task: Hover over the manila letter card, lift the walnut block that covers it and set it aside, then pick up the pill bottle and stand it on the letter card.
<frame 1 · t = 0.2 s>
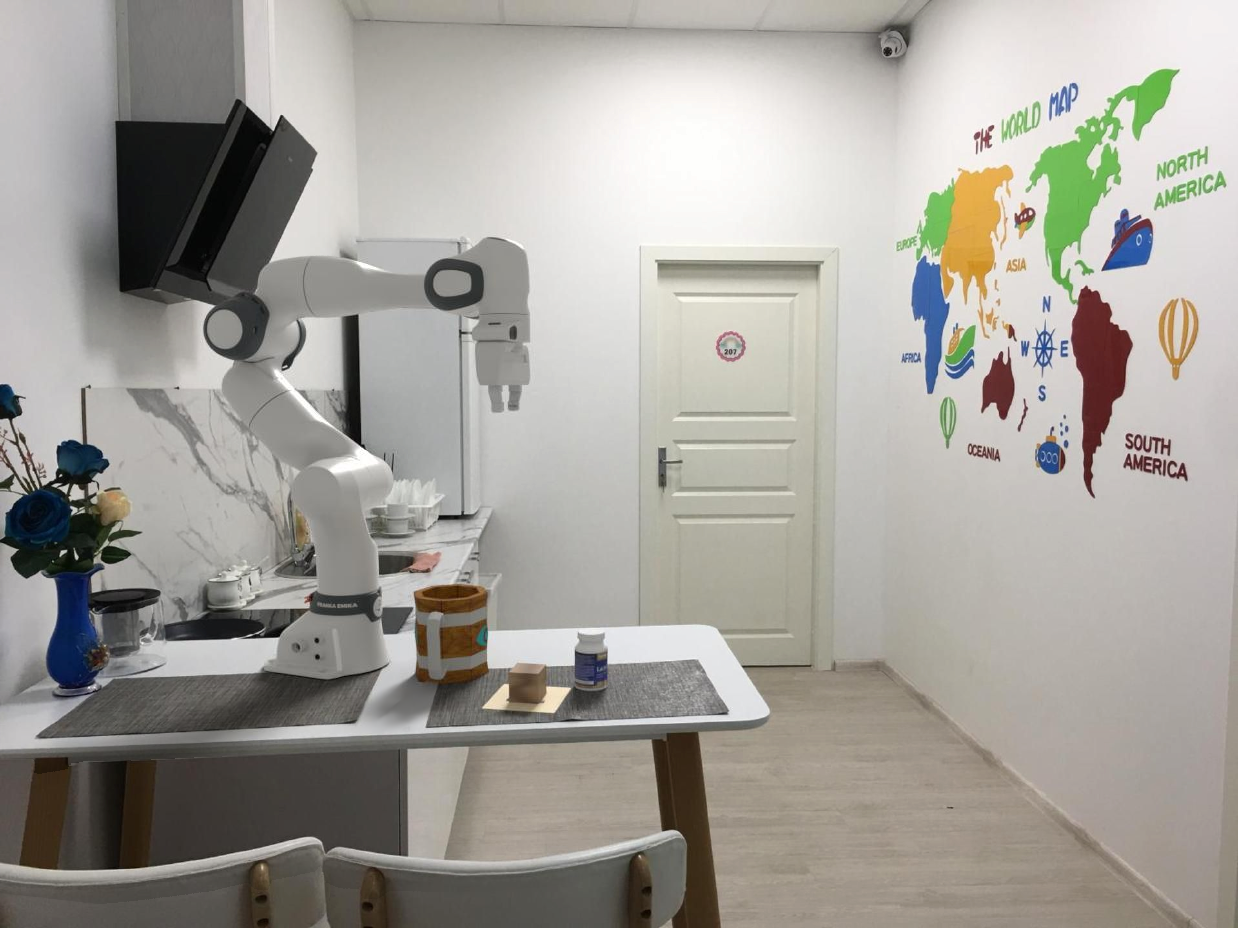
hand: (505, 411, 159), 47 cm above the table, fingers open, 8 cm apart
pill bottle: (591, 688, 156), on the table
letter card: (528, 699, 150), on the table
walnut block: (528, 697, 150), resting on letter card
mug: (447, 680, 161), on the table
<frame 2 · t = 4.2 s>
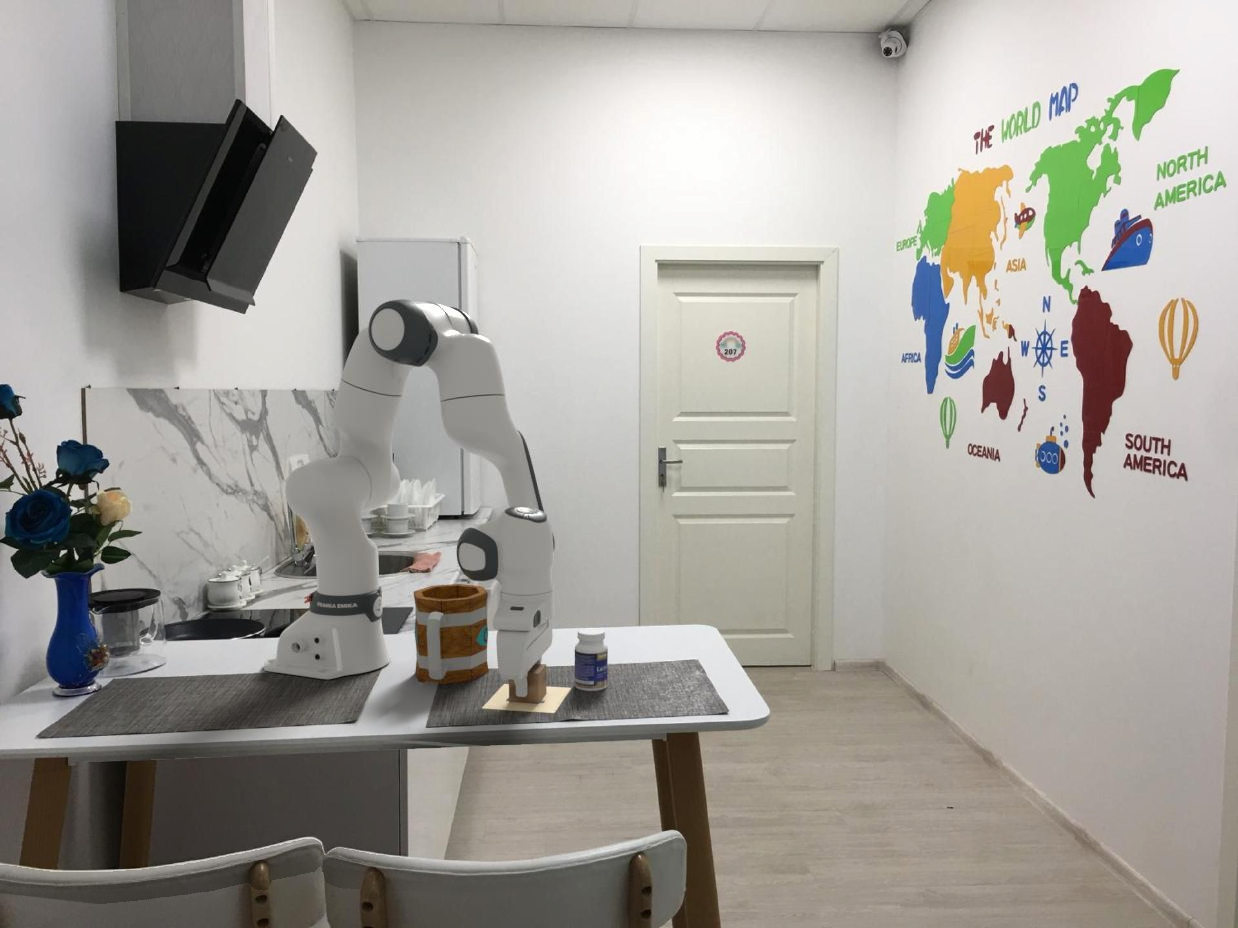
hand: (527, 688, 150), 2 cm above the table, fingers closed on walnut block, 5 cm apart
walnut block: (528, 697, 150), resting on letter card, touching gripper
everything else where it was.
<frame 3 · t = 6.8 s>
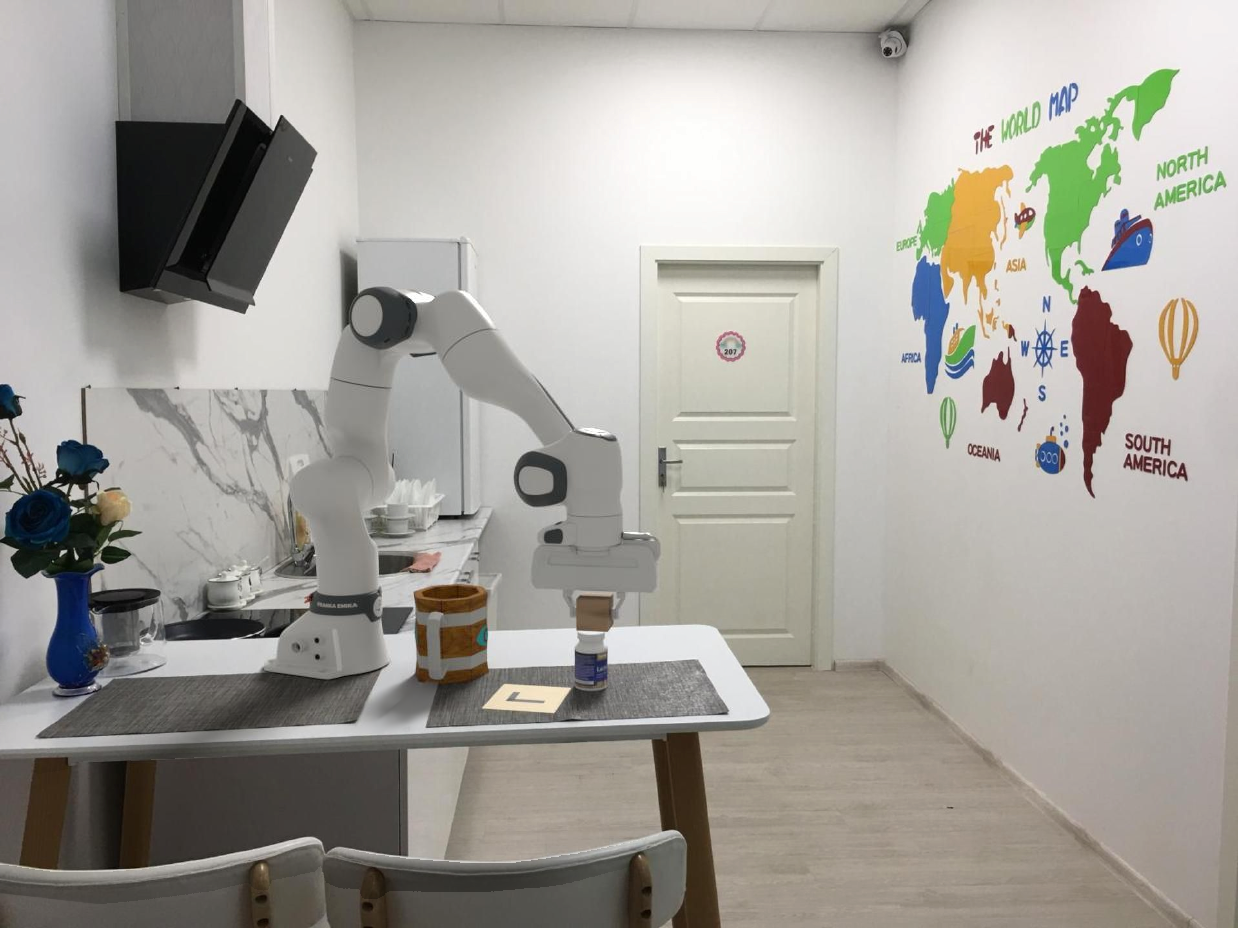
hand: (595, 617, 143), 15 cm above the table, fingers closed on walnut block, 5 cm apart
walnut block: (595, 626, 143), point 14 cm above the table, touching gripper
everything else where it was.
when the fingers open (3 cm above the table, at t = 9.2 s): walnut block drops 2 cm, on the table.
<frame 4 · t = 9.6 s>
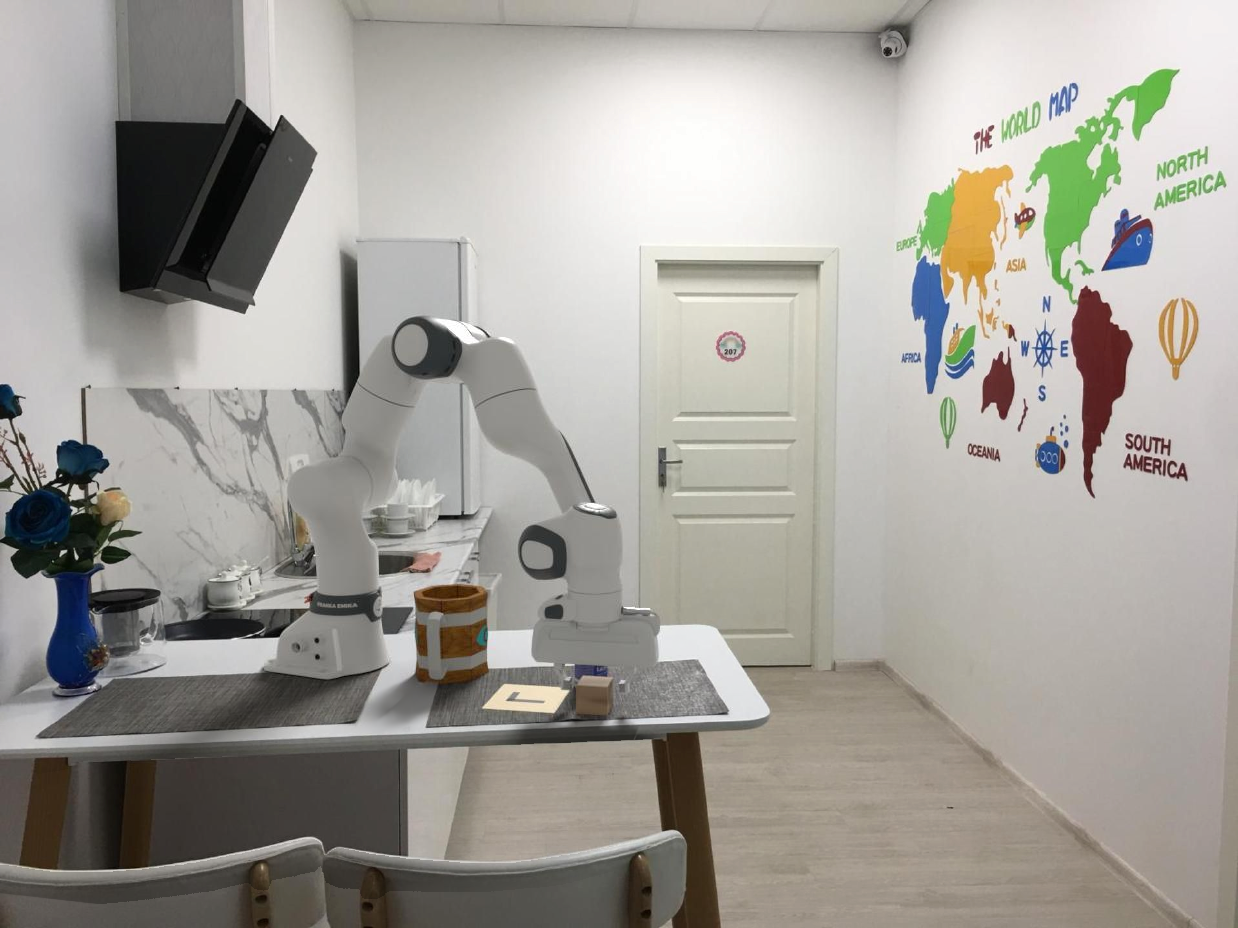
hand: (595, 690, 144), 3 cm above the table, fingers open, 8 cm apart
walnut block: (594, 711, 145), on the table
everything else where it was.
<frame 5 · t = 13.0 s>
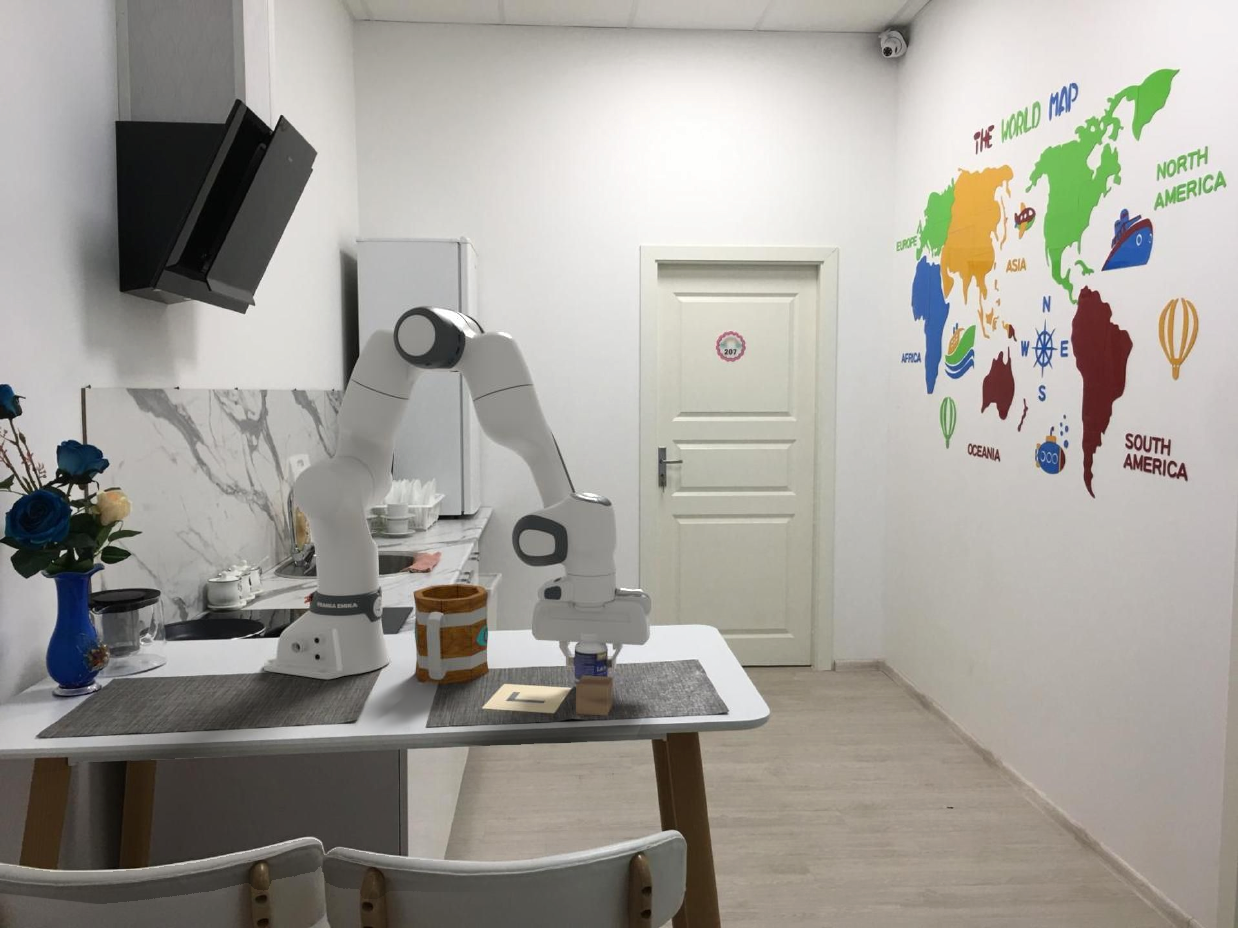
hand: (591, 666, 156), 4 cm above the table, fingers closed on pill bottle, 6 cm apart
pill bottle: (591, 688, 156), on the table, touching gripper
everything else where it was.
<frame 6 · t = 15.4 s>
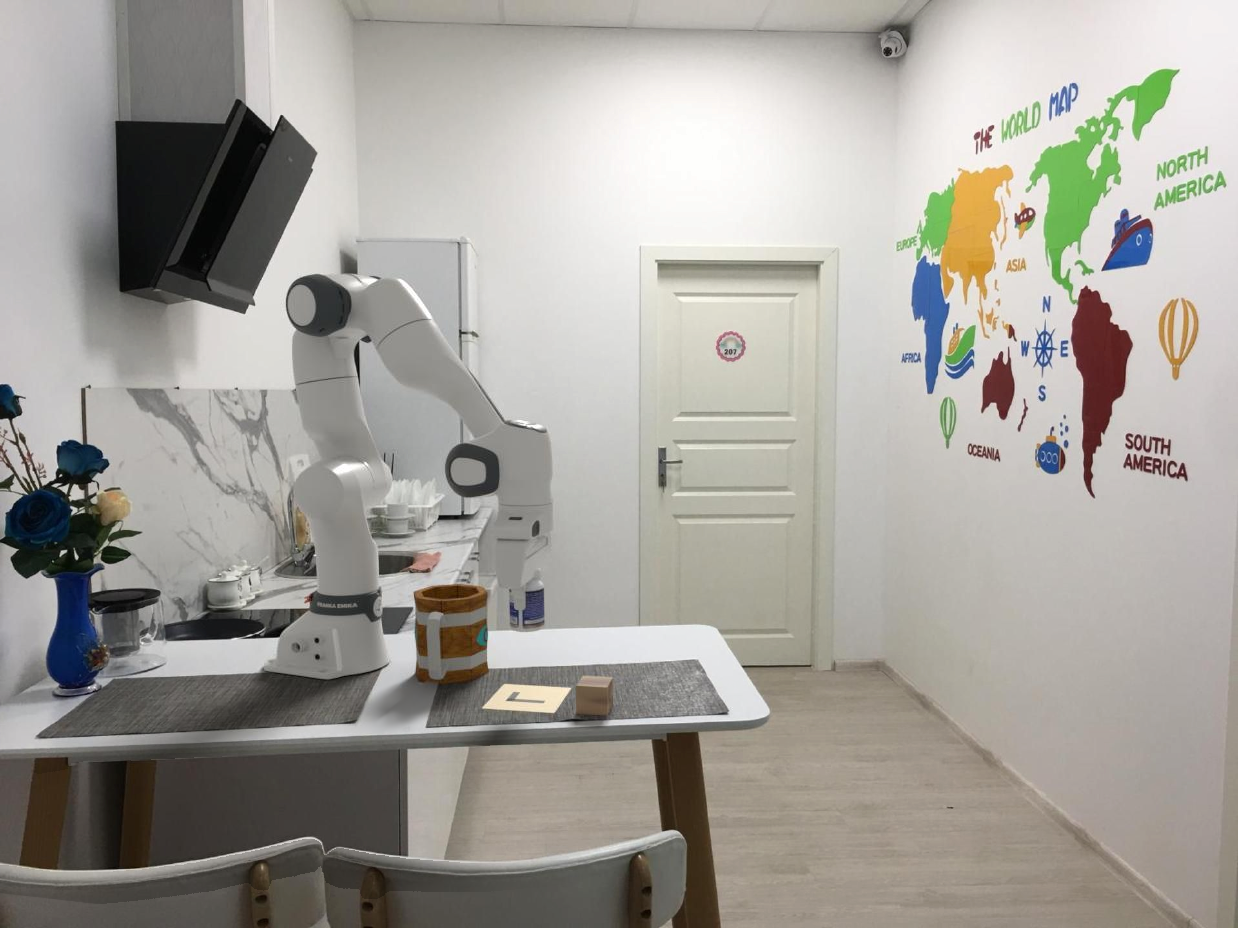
hand: (526, 603, 148), 16 cm above the table, fingers closed on pill bottle, 6 cm apart
pill bottle: (527, 629, 149), point 12 cm above the table, touching gripper
everything else where it was.
when the fingers open (5 cm above the table, at t = 17.8 s): pill bottle stays where it is, resting on letter card.
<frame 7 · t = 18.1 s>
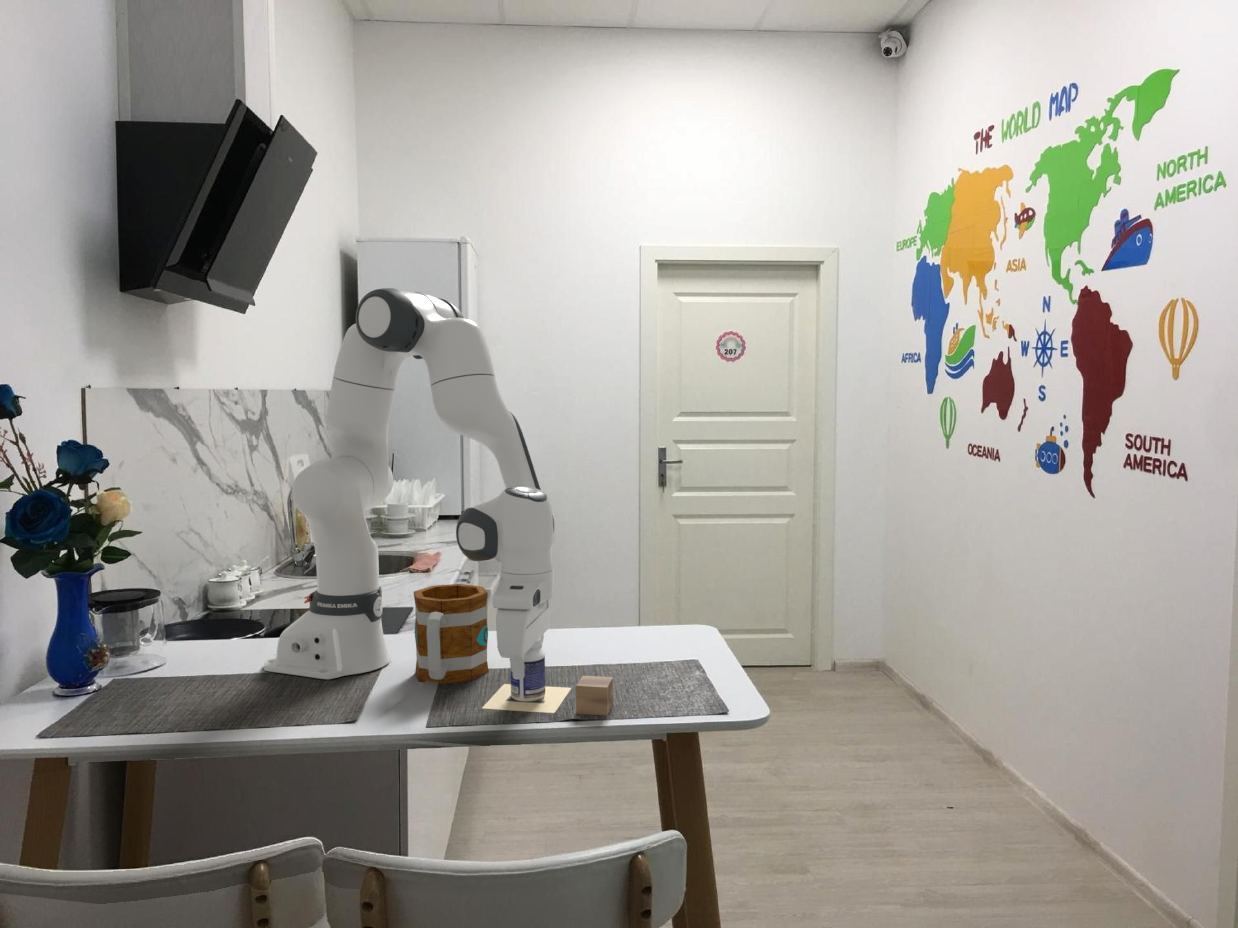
hand: (527, 668, 149), 5 cm above the table, fingers open, 8 cm apart
pill bottle: (528, 697, 150), resting on letter card
everything else where it was.
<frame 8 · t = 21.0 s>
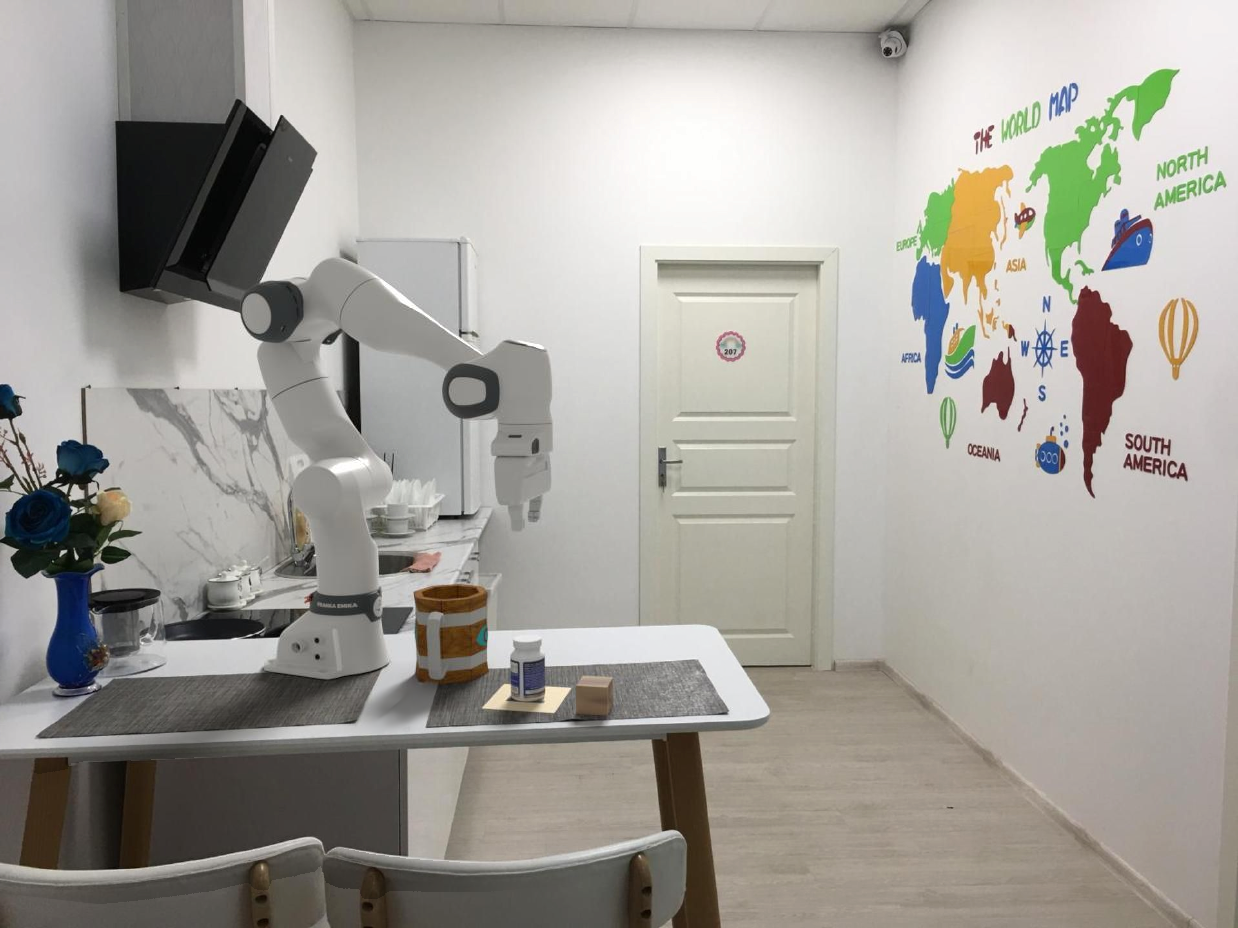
hand: (526, 526, 147), 29 cm above the table, fingers open, 8 cm apart
nothing on the table moved.
at the end: pill bottle inside the target area on the letter card (0.4 cm from its centre), point 0.2 cm above the letter card's base; pill bottle tilted 0°; walnut block moved 12.3 cm from its start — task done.
